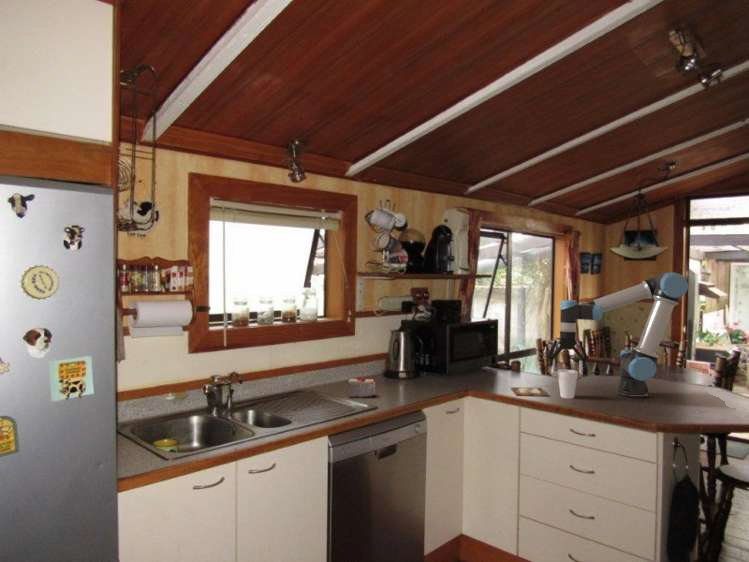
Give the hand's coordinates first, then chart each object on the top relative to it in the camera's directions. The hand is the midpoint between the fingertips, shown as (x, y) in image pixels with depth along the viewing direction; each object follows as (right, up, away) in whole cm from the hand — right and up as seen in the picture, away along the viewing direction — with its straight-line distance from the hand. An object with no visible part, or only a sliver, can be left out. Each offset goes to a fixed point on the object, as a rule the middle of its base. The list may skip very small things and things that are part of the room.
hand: (566, 373), depth 270 cm
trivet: (-16, -12, +9) cm, 22 cm away
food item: (-103, -12, 0) cm, 104 cm away
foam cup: (0, -12, 0) cm, 12 cm away
